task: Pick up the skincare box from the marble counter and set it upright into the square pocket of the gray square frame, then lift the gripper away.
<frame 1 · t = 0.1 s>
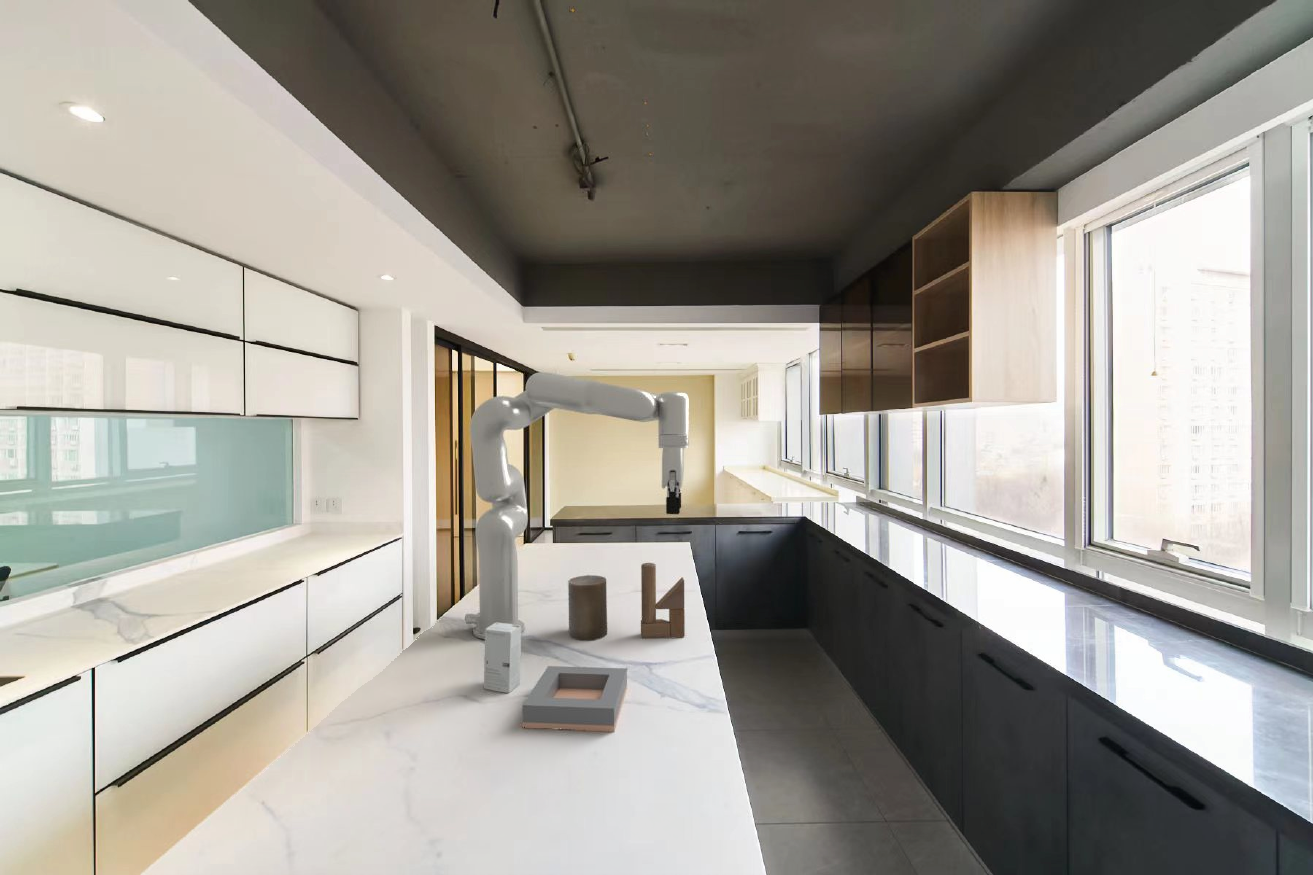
hand: (673, 510, 139), 31 cm above the countertop, tool pointing down, fingers open, 9 cm apart
gray square frame: (578, 706, 104), on the countertop
wooden block: (662, 636, 140), on the countertop
pillar candle: (587, 634, 142), on the countertop
skincare box: (503, 687, 113), on the countertop
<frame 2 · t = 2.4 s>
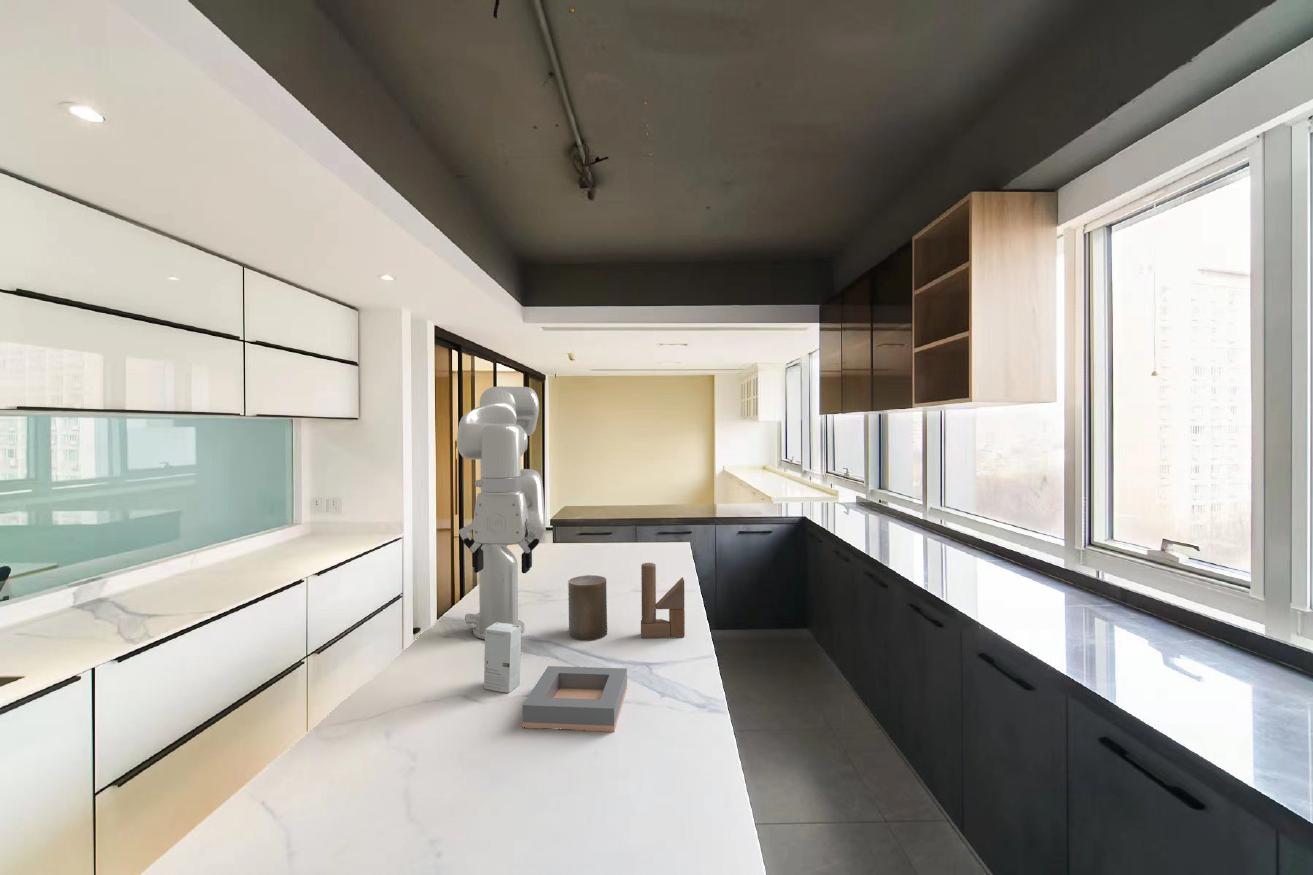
hand: (502, 571, 112), 23 cm above the countertop, tool pointing down, fingers open, 9 cm apart
nothing on the countertop moved.
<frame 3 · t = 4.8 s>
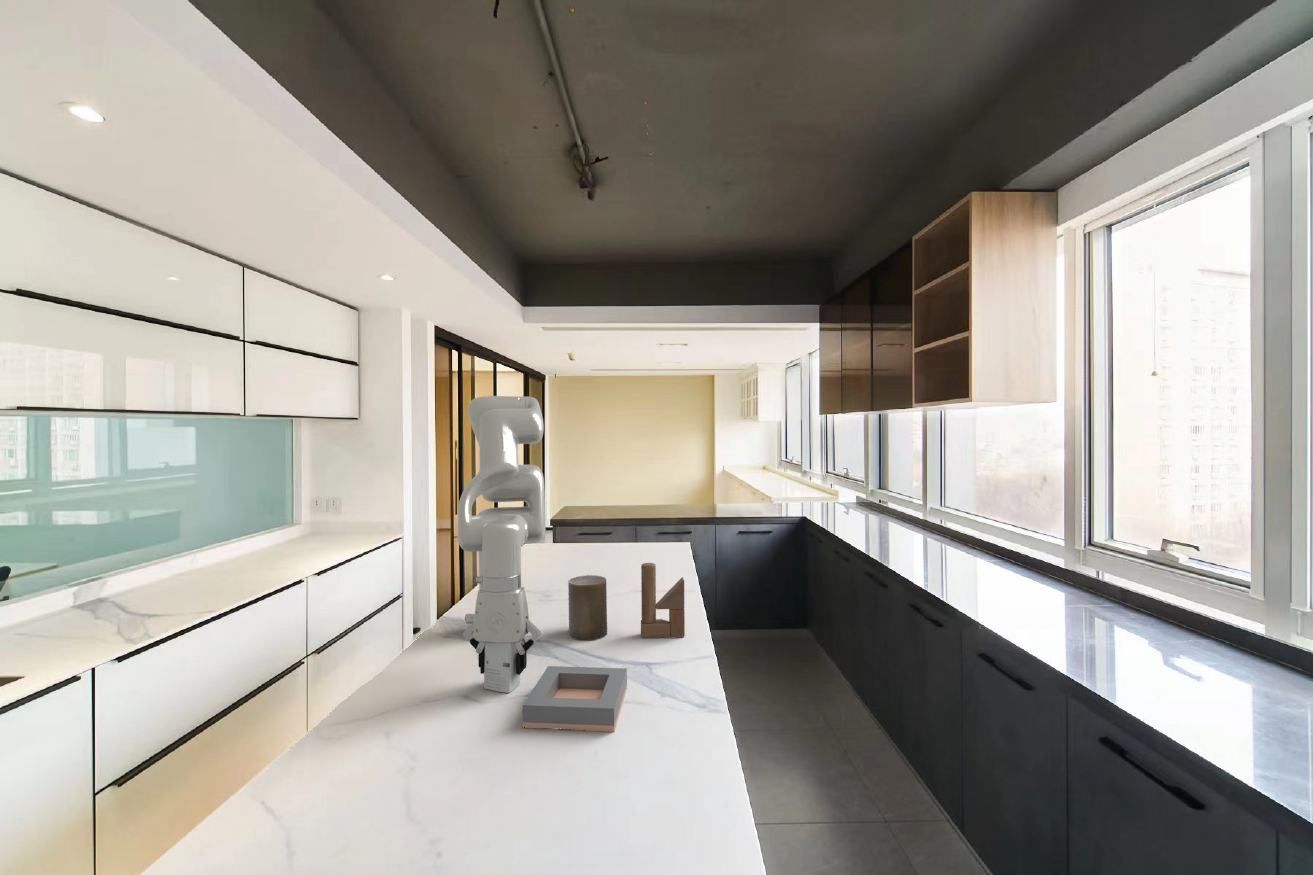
hand: (502, 670, 113), 3 cm above the countertop, tool pointing down, fingers closed on skincare box, 6 cm apart
skincare box: (503, 687, 113), on the countertop, touching gripper
everything else where it was.
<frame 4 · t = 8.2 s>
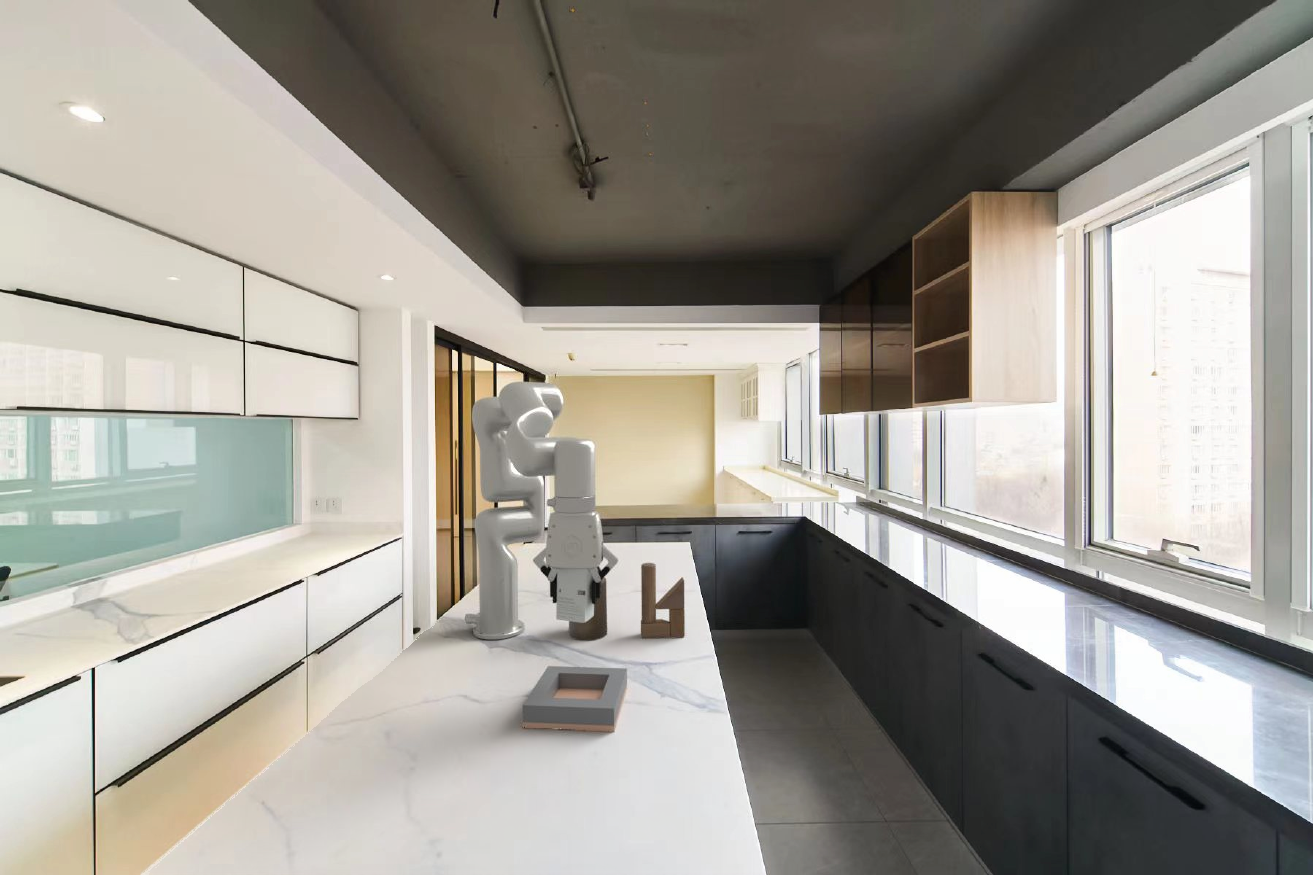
hand: (575, 600, 104), 20 cm above the countertop, tool pointing down, fingers closed on skincare box, 6 cm apart
skincare box: (576, 619, 104), point 16 cm above the countertop, touching gripper
everything else where it was.
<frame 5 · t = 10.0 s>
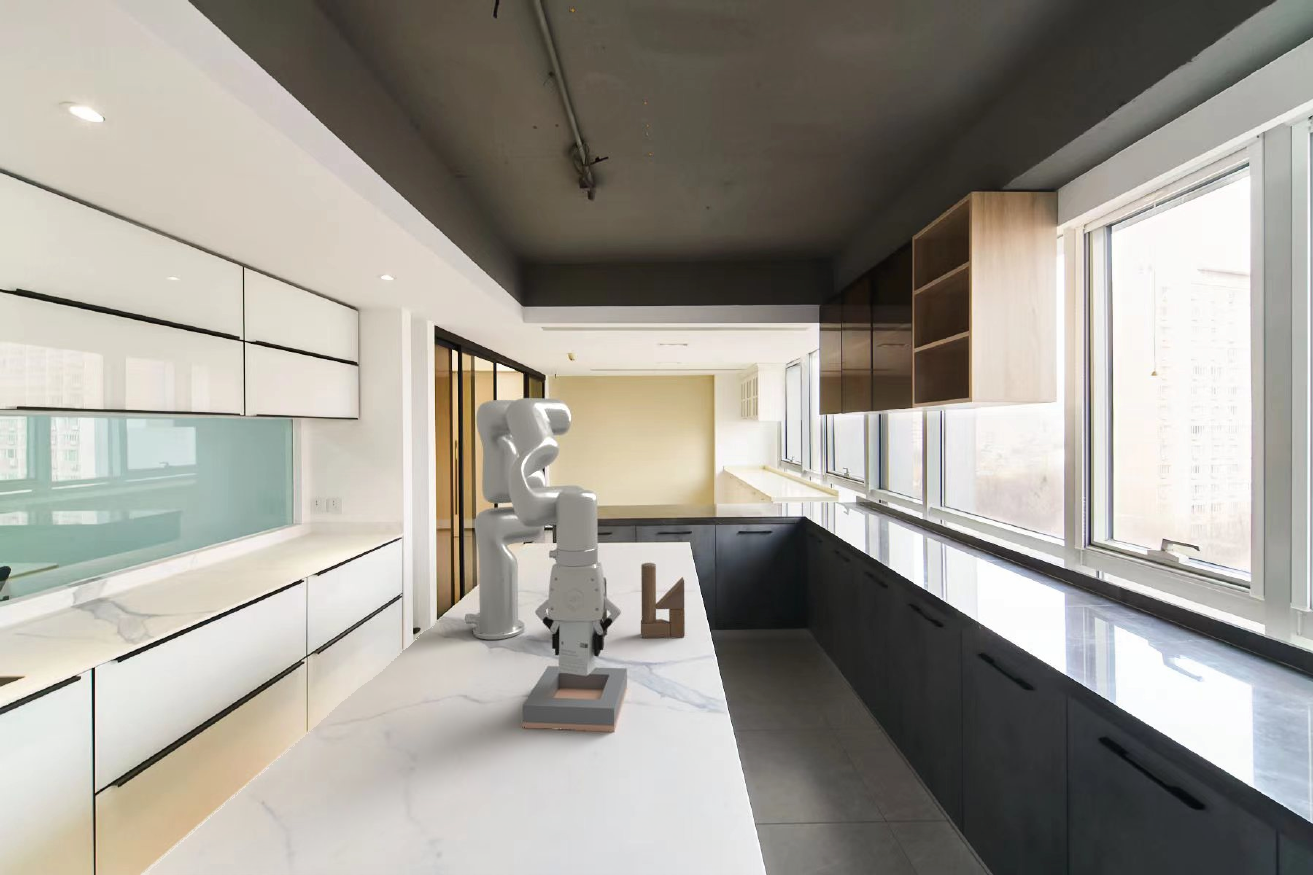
hand: (578, 652, 104), 10 cm above the countertop, tool pointing down, fingers closed on skincare box, 6 cm apart
skincare box: (578, 670, 104), point 7 cm above the countertop, touching gripper
everything else where it was.
when the fingers open (5 cm above the countertop, at t = 11.5 s): skincare box stays where it is, resting on gray square frame.
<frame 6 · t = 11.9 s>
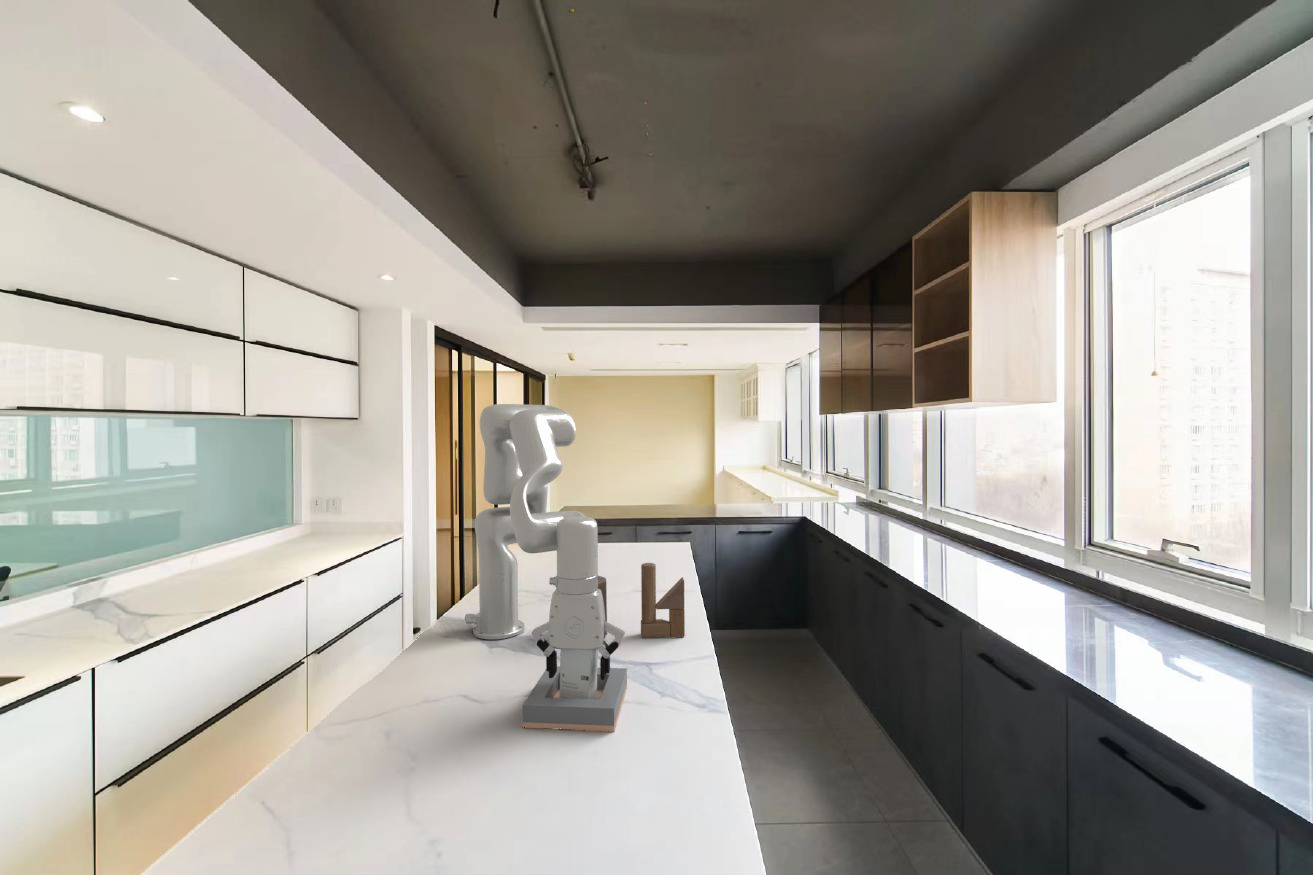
hand: (578, 675, 104), 6 cm above the countertop, tool pointing down, fingers open, 9 cm apart
skincare box: (579, 702, 104), point 1 cm above the countertop, touching gray square frame
everything else where it was.
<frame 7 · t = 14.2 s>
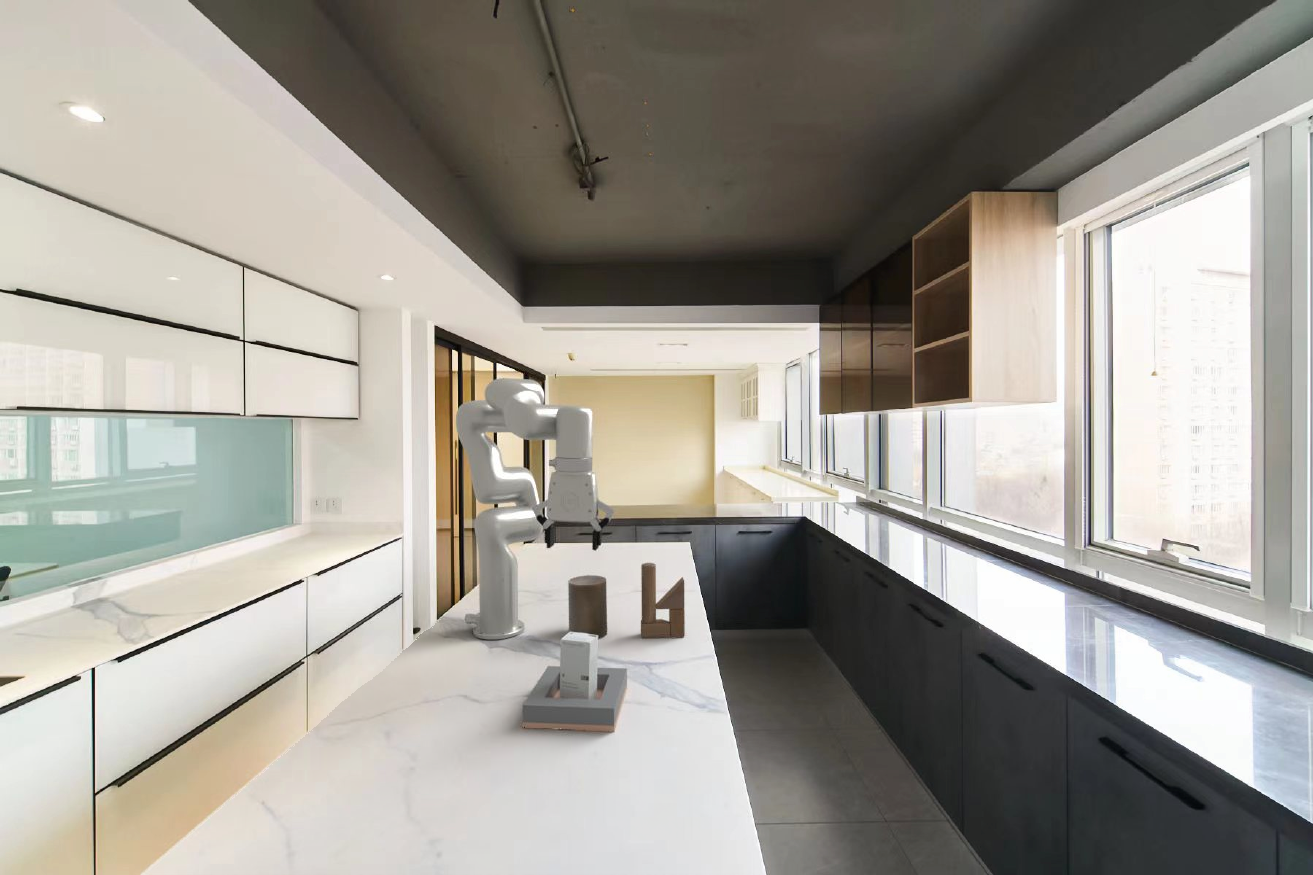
hand: (572, 547, 117), 27 cm above the countertop, tool pointing down, fingers open, 9 cm apart
nothing on the countertop moved.
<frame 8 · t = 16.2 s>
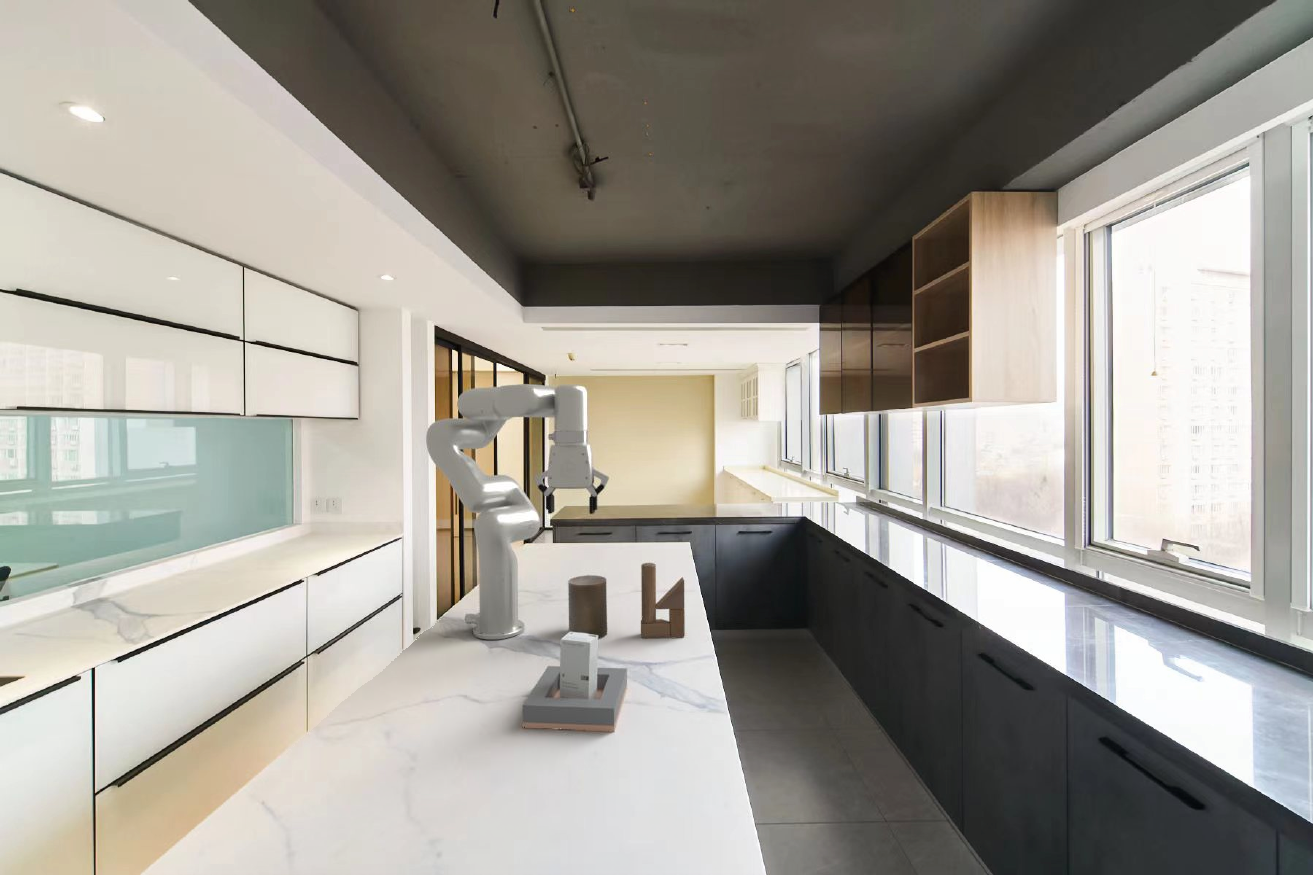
hand: (571, 513, 129), 32 cm above the countertop, tool pointing down, fingers open, 9 cm apart
nothing on the countertop moved.
at the end: skincare box 0.1 cm off-centre on the gray square frame, point 0.8 cm above the gray square frame's base; skincare box tilted 0°; the gripper is holding nothing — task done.
